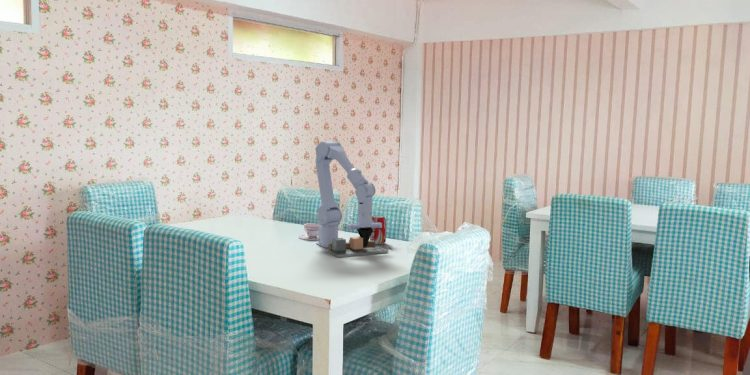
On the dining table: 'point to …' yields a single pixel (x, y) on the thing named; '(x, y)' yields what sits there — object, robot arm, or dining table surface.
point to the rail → (370, 243)
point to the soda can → (379, 230)
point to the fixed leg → (339, 245)
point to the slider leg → (356, 243)
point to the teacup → (310, 231)
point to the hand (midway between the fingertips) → (364, 246)
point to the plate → (365, 251)
